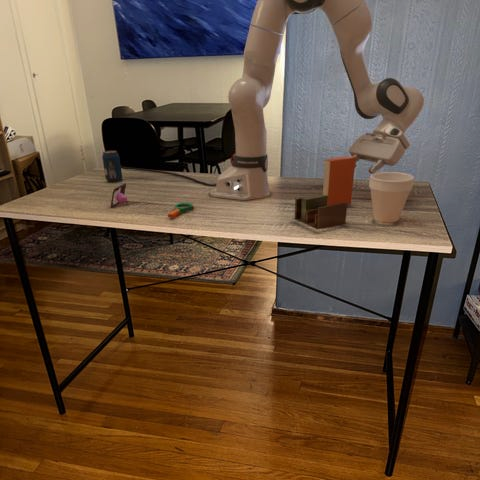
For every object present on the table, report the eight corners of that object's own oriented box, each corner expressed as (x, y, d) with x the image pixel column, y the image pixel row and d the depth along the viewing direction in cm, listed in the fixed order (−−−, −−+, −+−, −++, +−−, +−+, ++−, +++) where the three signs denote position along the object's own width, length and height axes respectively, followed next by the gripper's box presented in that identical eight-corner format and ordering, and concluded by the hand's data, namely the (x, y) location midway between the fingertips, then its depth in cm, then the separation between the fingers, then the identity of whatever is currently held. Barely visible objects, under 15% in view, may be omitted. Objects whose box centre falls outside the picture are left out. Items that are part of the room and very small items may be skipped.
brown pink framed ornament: (123, 182, 163) (111, 188, 156) (136, 187, 163) (125, 194, 155) (120, 199, 167) (108, 206, 159) (133, 205, 167) (121, 212, 159)
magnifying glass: (179, 205, 159) (179, 200, 158) (195, 206, 157) (195, 201, 156) (161, 218, 146) (161, 213, 145) (179, 219, 145) (178, 214, 144)
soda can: (118, 178, 200) (113, 149, 194) (125, 180, 195) (121, 151, 189) (103, 181, 196) (98, 151, 190) (110, 183, 191) (105, 153, 185)
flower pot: (413, 221, 139) (421, 175, 132) (395, 231, 131) (402, 183, 124) (376, 213, 146) (382, 170, 139) (357, 223, 138) (362, 177, 131)
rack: (293, 222, 140) (293, 197, 137) (321, 216, 145) (323, 192, 141) (316, 233, 131) (318, 206, 127) (346, 226, 136) (348, 200, 132)
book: (321, 209, 152) (324, 159, 144) (344, 204, 156) (349, 156, 148) (326, 211, 149) (330, 161, 141) (350, 206, 153) (355, 157, 145)
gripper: (360, 126, 156) (335, 159, 156) (406, 132, 140) (378, 169, 141) (368, 138, 160) (344, 170, 160) (414, 146, 144) (387, 181, 145)
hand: (360, 170), depth 150 cm, fingers open, 8 cm apart
